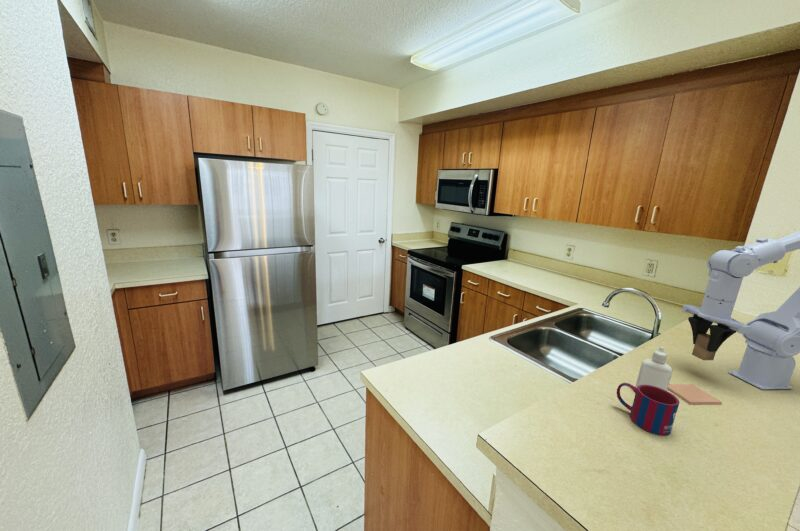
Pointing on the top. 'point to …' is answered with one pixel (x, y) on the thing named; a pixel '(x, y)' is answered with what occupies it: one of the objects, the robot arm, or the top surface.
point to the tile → (693, 394)
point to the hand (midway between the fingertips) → (704, 347)
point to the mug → (652, 408)
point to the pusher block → (703, 348)
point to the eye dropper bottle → (655, 371)
